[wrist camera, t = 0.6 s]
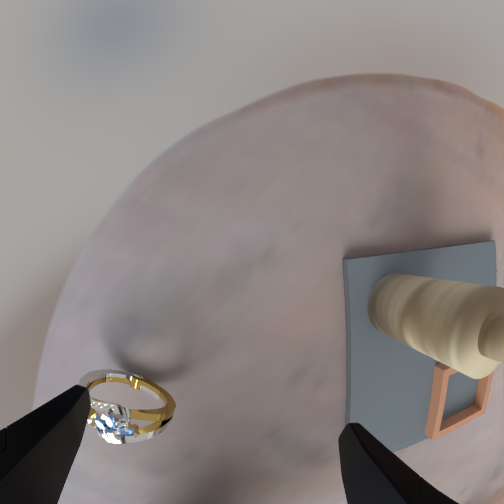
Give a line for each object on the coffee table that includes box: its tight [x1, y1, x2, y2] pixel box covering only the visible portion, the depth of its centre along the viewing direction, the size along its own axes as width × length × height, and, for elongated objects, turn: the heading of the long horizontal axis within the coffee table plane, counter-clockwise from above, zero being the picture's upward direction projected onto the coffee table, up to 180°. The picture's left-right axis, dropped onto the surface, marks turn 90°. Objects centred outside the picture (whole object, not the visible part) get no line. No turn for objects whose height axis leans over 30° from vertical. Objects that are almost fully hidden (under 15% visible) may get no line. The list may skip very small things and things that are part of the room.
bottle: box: [368, 273, 504, 379], centre depth 17 cm, size 5×5×12 cm
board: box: [342, 241, 496, 453], centre depth 23 cm, size 20×18×2 cm
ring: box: [79, 369, 176, 444], centre depth 18 cm, size 7×3×8 cm, turn 70°
